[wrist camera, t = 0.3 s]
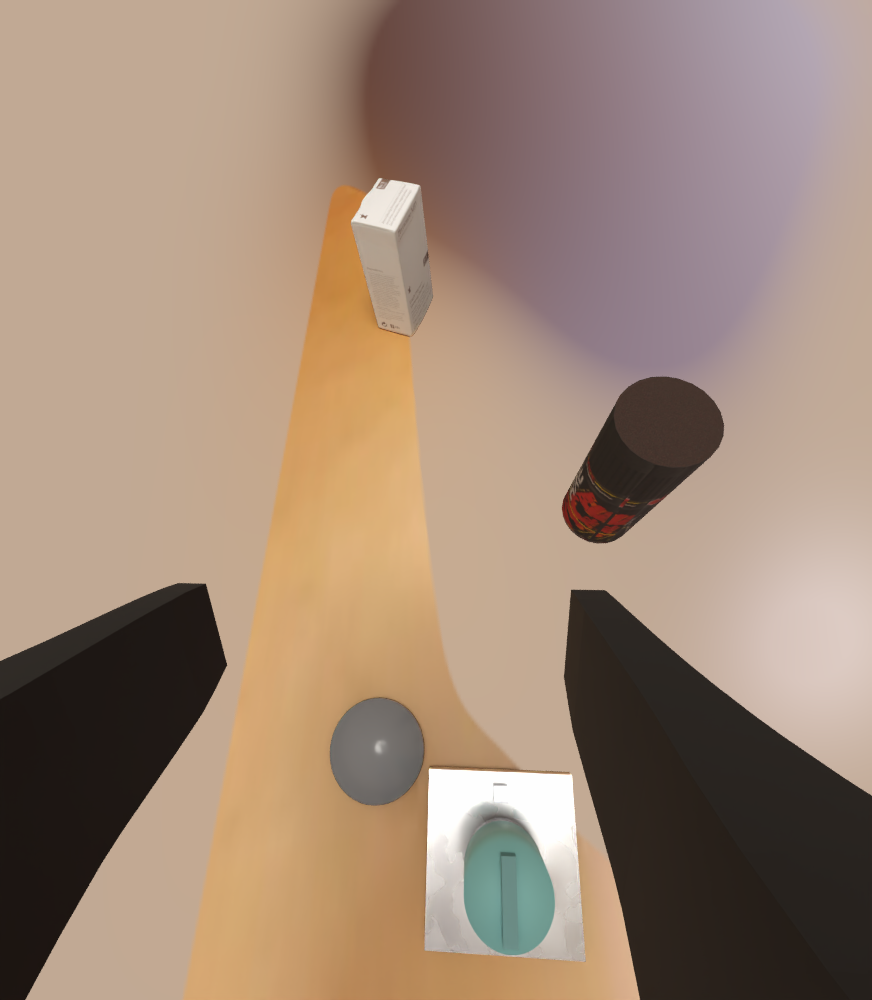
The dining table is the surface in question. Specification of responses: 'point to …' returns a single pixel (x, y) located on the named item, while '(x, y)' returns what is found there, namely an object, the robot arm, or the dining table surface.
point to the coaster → (376, 751)
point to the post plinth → (548, 834)
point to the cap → (507, 889)
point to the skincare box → (394, 254)
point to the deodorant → (641, 456)
